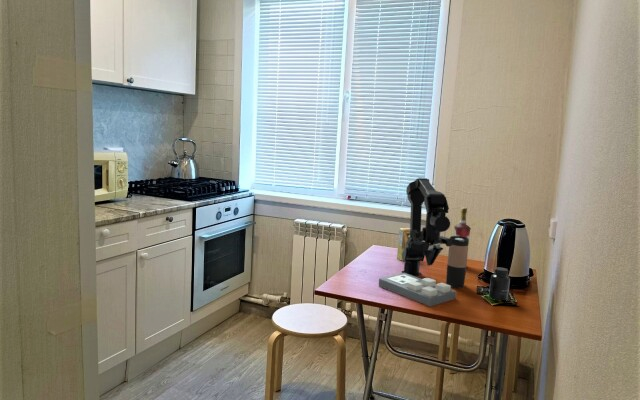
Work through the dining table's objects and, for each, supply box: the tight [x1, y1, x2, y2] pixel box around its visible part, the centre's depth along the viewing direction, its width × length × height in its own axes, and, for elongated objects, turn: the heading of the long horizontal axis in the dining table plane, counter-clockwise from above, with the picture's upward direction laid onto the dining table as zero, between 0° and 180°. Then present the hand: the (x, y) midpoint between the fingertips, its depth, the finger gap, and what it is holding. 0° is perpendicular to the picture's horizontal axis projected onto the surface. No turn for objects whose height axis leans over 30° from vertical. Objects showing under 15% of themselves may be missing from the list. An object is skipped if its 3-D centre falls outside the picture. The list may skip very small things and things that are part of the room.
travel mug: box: [445, 235, 470, 289], centre depth 192 cm, size 8×8×20 cm
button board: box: [378, 272, 457, 307], centre depth 183 cm, size 15×26×3 cm, turn 38°
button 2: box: [420, 277, 437, 287], centre depth 183 cm, size 4×4×3 cm
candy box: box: [396, 227, 410, 261], centre depth 229 cm, size 9×4×15 cm, turn 113°
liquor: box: [453, 207, 471, 240], centre depth 219 cm, size 7×7×28 cm
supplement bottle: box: [488, 266, 511, 301], centre depth 179 cm, size 7×7×12 cm
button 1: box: [407, 281, 423, 291], centre depth 178 cm, size 4×4×3 cm
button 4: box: [435, 282, 452, 293], centre depth 178 cm, size 4×4×3 cm
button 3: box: [421, 286, 437, 297], centre depth 173 cm, size 4×4×3 cm
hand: (429, 265), depth 182 cm, fingers closed
